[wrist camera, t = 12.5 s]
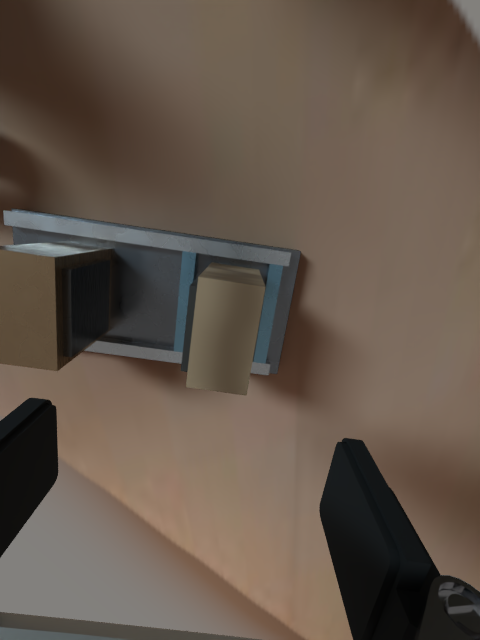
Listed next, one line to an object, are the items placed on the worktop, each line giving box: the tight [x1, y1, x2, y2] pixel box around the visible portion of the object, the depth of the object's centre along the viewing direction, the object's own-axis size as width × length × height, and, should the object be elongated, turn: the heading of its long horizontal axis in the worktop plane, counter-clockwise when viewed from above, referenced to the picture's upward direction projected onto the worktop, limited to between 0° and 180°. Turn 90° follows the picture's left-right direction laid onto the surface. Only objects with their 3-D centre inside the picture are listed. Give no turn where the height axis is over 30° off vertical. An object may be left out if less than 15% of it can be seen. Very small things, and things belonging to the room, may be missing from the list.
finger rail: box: [0, 209, 301, 375], centre depth 26 cm, size 12×26×11 cm, turn 82°
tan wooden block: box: [181, 262, 266, 395], centre depth 26 cm, size 5×8×9 cm, turn 171°
